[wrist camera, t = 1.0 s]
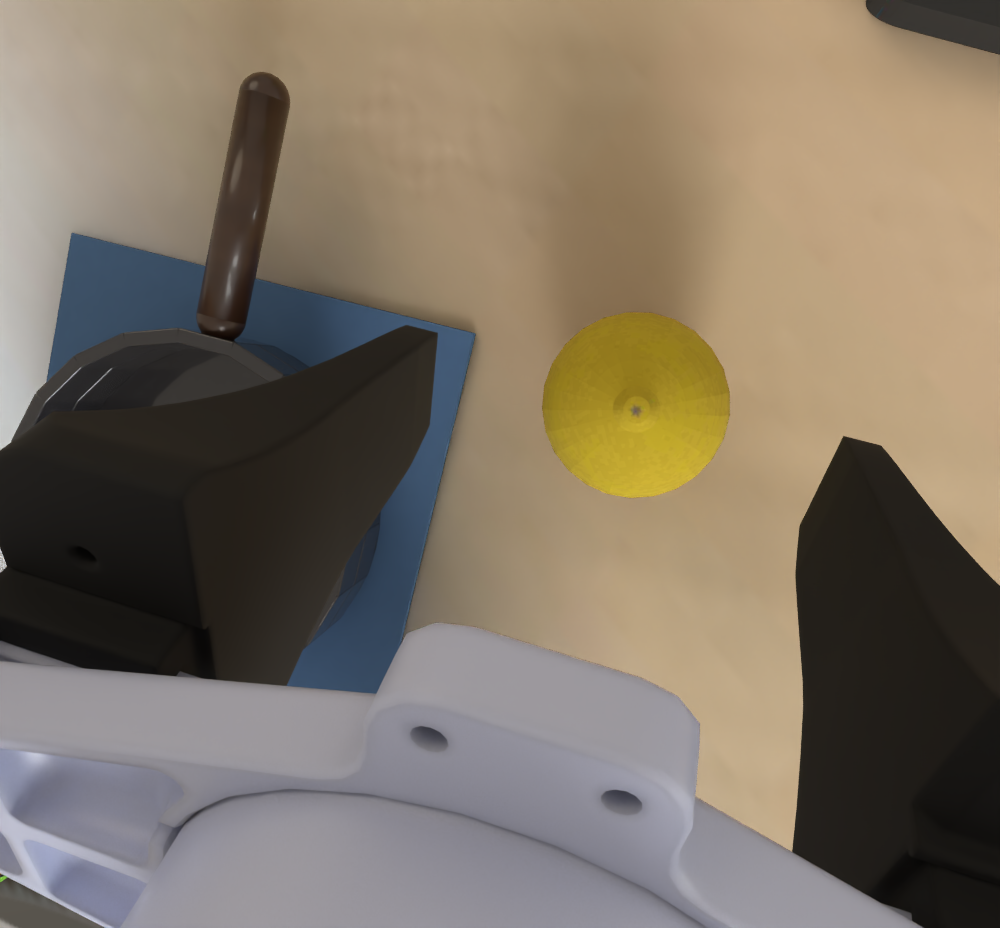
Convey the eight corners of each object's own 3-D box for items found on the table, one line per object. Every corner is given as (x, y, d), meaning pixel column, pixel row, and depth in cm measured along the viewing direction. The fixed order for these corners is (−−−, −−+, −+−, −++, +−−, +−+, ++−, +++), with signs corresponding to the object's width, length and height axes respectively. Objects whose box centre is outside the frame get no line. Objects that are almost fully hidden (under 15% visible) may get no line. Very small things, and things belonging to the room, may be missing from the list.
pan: (342, 700, 31) (304, 744, 27) (51, 608, 32) (-23, 638, 29) (417, 381, 29) (387, 381, 25) (106, 301, 31) (34, 290, 27)
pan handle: (249, 348, 28) (227, 346, 26) (207, 337, 28) (182, 334, 26) (302, 88, 26) (282, 69, 25) (257, 78, 27) (235, 59, 25)
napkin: (371, 765, 31) (369, 769, 31) (6, 647, 33) (0, 649, 33) (475, 333, 29) (474, 333, 28) (76, 233, 31) (71, 232, 30)
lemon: (527, 368, 28) (491, 362, 21) (670, 293, 28) (689, 258, 20) (596, 506, 29) (587, 553, 21) (741, 437, 28) (788, 459, 20)
